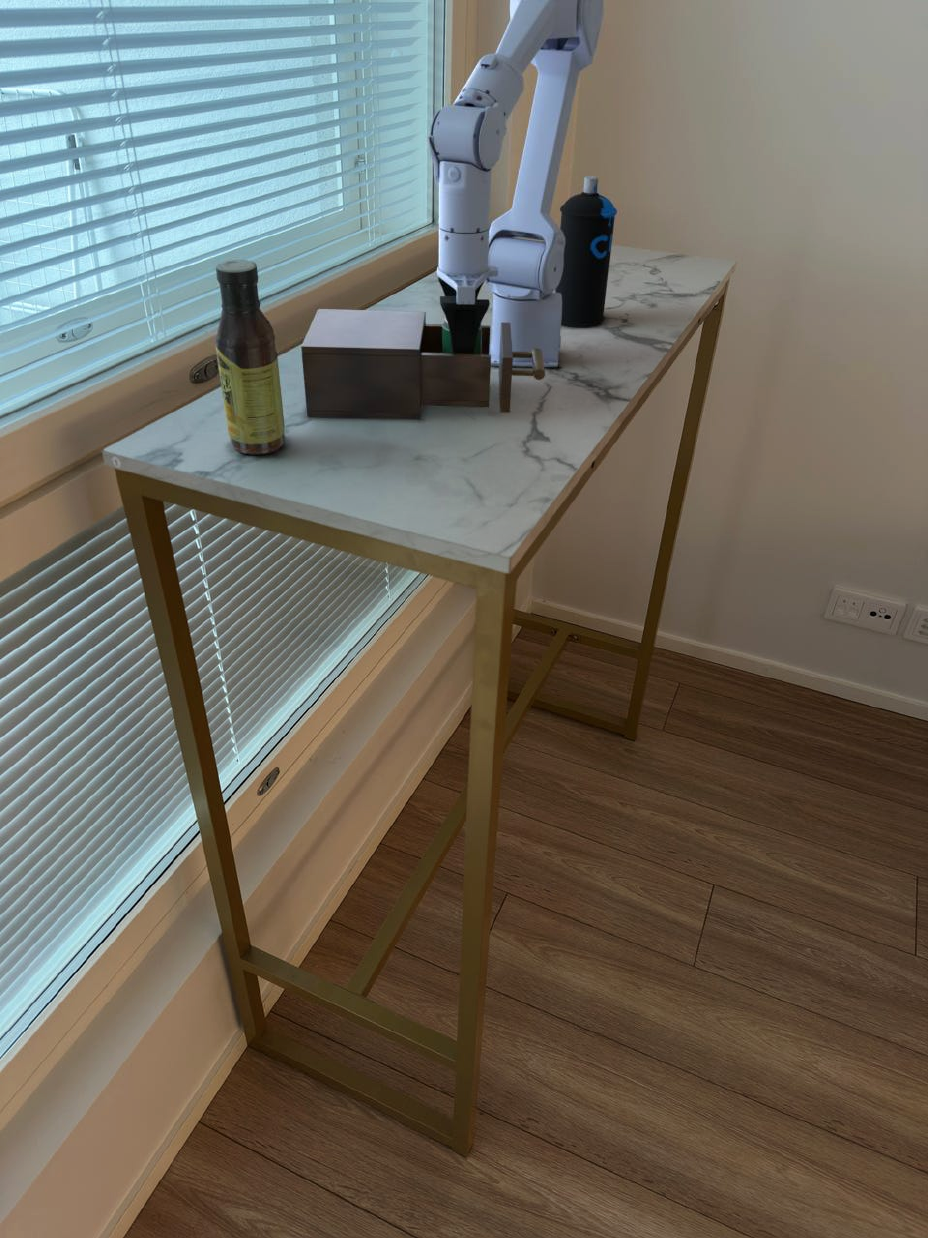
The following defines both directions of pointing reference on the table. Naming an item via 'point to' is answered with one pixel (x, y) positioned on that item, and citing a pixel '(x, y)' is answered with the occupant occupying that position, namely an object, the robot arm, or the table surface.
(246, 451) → the sauce bottle
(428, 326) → the drawer
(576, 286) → the aerosol can
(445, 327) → the can
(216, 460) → the table surface
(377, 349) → the cabinet
